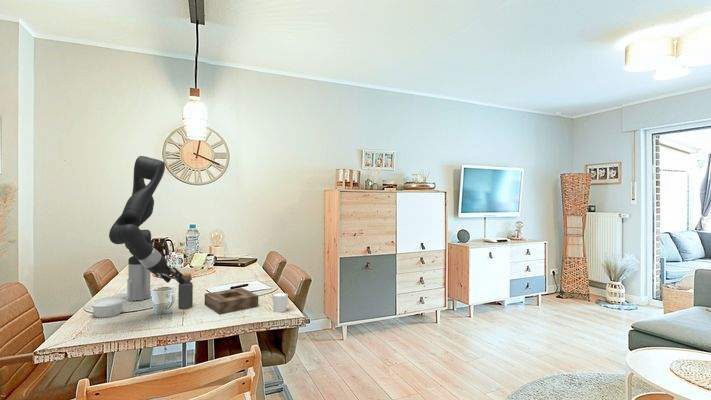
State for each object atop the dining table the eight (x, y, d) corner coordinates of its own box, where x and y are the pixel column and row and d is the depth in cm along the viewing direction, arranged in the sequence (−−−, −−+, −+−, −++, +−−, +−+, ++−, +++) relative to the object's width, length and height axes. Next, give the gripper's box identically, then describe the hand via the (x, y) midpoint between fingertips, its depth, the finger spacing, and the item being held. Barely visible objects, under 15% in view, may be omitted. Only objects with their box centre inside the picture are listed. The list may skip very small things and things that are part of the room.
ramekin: (89, 320, 150) (89, 307, 150) (94, 312, 160) (94, 300, 160) (122, 316, 155) (122, 303, 155) (124, 309, 165) (124, 297, 165)
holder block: (219, 314, 159) (219, 302, 159) (204, 304, 172) (204, 293, 172) (258, 306, 171) (258, 295, 170) (241, 297, 184) (241, 287, 184)
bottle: (181, 305, 171) (181, 272, 170) (194, 305, 171) (194, 272, 171) (176, 309, 165) (176, 275, 165) (189, 309, 165) (190, 275, 165)
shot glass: (290, 308, 168) (290, 293, 167) (282, 313, 161) (283, 297, 161) (277, 307, 170) (277, 291, 170) (269, 311, 163) (269, 295, 163)
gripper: (170, 253, 152) (193, 276, 163) (146, 251, 158) (170, 273, 169) (158, 269, 147) (182, 291, 158) (134, 265, 153) (159, 287, 164)
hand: (176, 281), depth 163 cm, fingers open, 8 cm apart
